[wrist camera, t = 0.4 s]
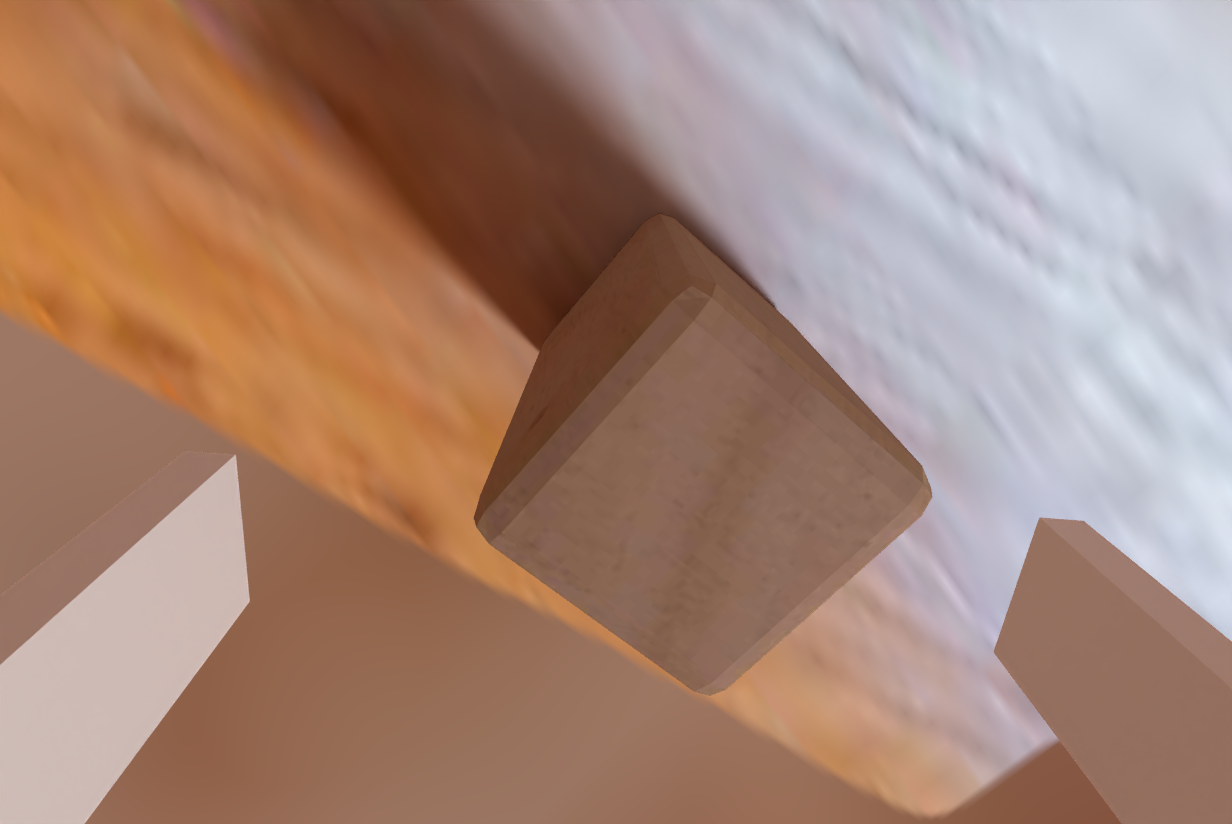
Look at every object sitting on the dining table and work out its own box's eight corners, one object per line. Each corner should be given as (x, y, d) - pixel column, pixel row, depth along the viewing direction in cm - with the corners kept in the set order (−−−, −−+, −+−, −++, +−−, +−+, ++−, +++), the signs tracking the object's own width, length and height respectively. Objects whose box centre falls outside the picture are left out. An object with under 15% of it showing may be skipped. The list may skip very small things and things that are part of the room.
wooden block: (534, 349, 40) (452, 535, 21) (658, 202, 37) (691, 264, 18) (673, 461, 42) (712, 720, 23) (799, 330, 39) (960, 502, 20)
